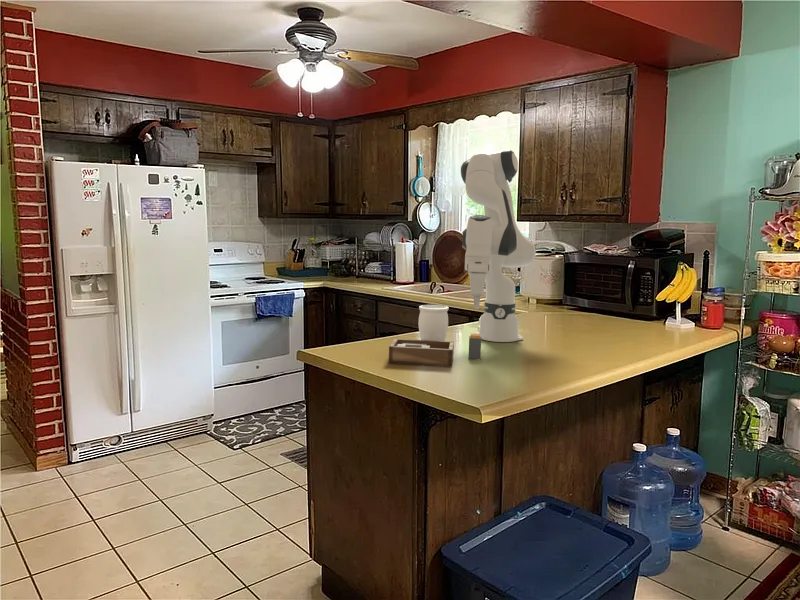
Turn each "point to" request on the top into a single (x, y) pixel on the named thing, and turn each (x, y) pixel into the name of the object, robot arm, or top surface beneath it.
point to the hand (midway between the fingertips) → (476, 306)
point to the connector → (474, 346)
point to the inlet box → (421, 352)
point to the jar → (433, 322)
